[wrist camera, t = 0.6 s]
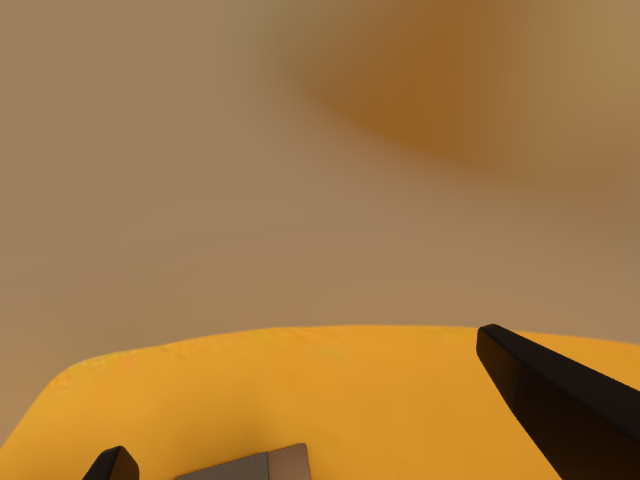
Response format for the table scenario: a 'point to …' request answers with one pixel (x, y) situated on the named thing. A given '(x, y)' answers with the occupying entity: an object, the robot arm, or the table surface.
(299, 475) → the door board
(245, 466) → the plate
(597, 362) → the table surface
